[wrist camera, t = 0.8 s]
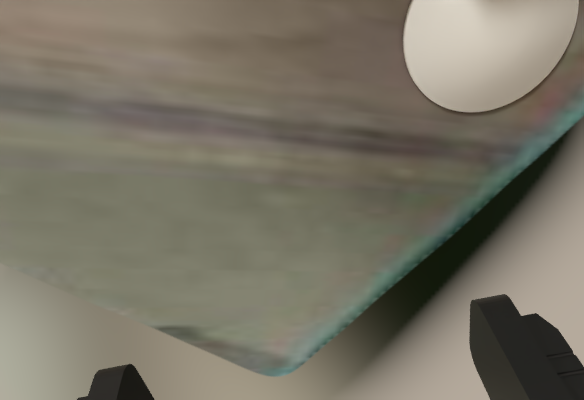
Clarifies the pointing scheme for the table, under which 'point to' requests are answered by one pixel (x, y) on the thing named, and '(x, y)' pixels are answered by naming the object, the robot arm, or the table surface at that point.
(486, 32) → the ceramic coaster
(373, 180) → the table surface
